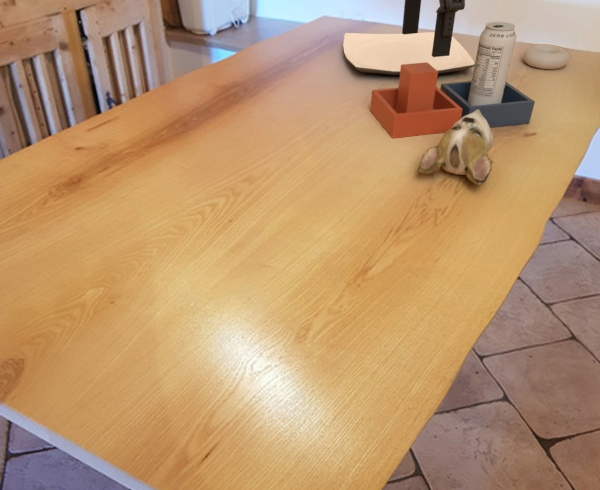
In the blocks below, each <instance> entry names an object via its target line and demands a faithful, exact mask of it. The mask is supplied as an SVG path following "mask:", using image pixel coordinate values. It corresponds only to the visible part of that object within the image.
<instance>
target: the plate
mask: <svg viewBox="0 0 600 490" xmlns="http://www.w3.org/2000/svg"><path fill="white" fill-rule="evenodd" d="M434 34H435V31H426V32H424V31H423V32H418V33H415V34H404V35H403V34H402V33H361V32H360V33H359V32H357V33H356V32H345V33H344V36H343V43H342V49H343V55H344V57H345V59H346V61H347V62H348V63H349V64H350V65H351V66H352V67H353V68H354V69H356V70H357V71H358V72H361V73H368V74H369V73H371V74H381V75H390V76H400V69H401V65H403V64H414V63H426V62H427V63H428V64H430V65H431V66H432V67H433V68H435V69H436V70H437V71H438V75H439V74H446V73H447V74H448V73H453V72H459V71H460V72H461V71H466V70H469V69H472V68H474V66H475V61H474V59H473V58H472V57H471V55H470V54H469V53H468V51H467V50H466V49H465V47H464V46H463V45H462V44H461V43H460V42H459V41H458V40H457V39H456V38H455V37H454V36H453V35H452V40H451V47H450V54H449V56H441V57H433V56H432V49H433V41H434Z"/></svg>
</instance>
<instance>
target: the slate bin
mask: <svg viewBox="0 0 600 490" xmlns="http://www.w3.org/2000/svg"><path fill="white" fill-rule="evenodd" d="M471 82H472V80H466V81H456V82H454V81H453V82H443V83H440V88H439V89H440V90H441V91H442V92H444V93H445V94H446V95H447V96H448V97H449V98H451V99H452V100H453V101H454V102H455V103H456V104H457V105H459V106H460V107H461V108H462V115H461V118H462V117H464V116H466V115H468V114H471V113H473V112H474V111H476V110H477V109H478V110H480V112H481V114H482V116H483V117H484V118H485V119H486V121H487V123H488V124H489V126H490V129H491V128H500V127H510V126H519V125H529V124H530V121H531V118H532V114H533V111H534V107H535V103H536V101H535V100H534V99H532V98H530V97H529V96H527V95H526V94H524V93H523V92H522V91H520V90H519V89H518V88H515V87H514V86H513V85H512V84H510V83H509V82H507V81H506V84H505V88H504V92H503V97H502V101H501V103H499V104H489V105H479V106H471V105H470V104H469V103H468V98H469V92H470V87H471Z"/></svg>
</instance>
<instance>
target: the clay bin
mask: <svg viewBox="0 0 600 490" xmlns="http://www.w3.org/2000/svg"><path fill="white" fill-rule="evenodd" d="M398 88H399V87H391V88H381V89H380V88H379V89H373V90H371V96H370V97H371V98H370V112H371V114H372V115H373V116H374V117H375V119H376V120H377V121H378V122H379V123H380V125H381V126H382V127H383V129H384V130H385V131H386V133H388V135H389V136H390V137H391V138H392V139H397V138H405V137H406V138H408V137H416V136H417V137H418V136H424V135H425V136H426V135H436V134H445V133H446V132H447V131H448V130H449V129H450V128H452V127H453V125H454V124H455V123H456V122H457V121H459V120H460V119H461V115H462V108H461V107H460V106H459V105H457V104H456V103H455V102H454V101H453V100H452V99H451V98H449V97H448V96H447V95H446V94H445V93H444V92H442V91H441V90H440V88H439V87H438V86H437V85H436V89H435V96H434V103H433V109H432V110H429V111H419V112H409V113H399V114H397V113H396V107H397V98H398Z"/></svg>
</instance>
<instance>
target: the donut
mask: <svg viewBox="0 0 600 490" xmlns="http://www.w3.org/2000/svg"><path fill="white" fill-rule="evenodd" d="M522 58H523V61H524V62H525V64H527V65H528V66H530V67H533V68H535V69H540V70H557V69H561V68H563V67H565V66H567V65H568V64H569V62H570V59H571V53H570V52H569V50H567V49H566V48H564V47H562V46H561V45H556V44H549V43H539V44H534V45H531V46H529V47H527V48H525V51H524V52H523V56H522Z"/></svg>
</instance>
